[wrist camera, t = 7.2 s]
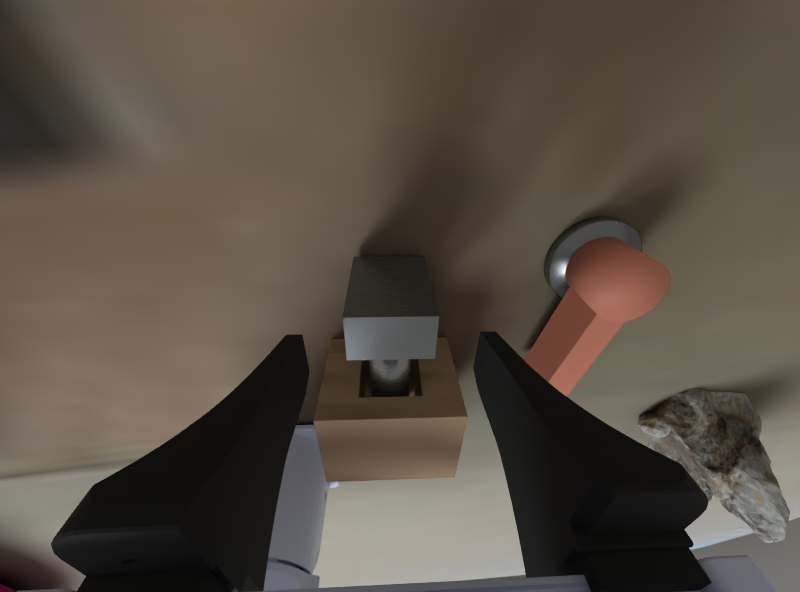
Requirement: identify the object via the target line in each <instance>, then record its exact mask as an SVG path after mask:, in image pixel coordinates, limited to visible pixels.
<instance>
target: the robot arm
mask: <svg viewBox="0 0 800 592" xmlns="http://www.w3.org/2000/svg"><path fill="white" fill-rule="evenodd" d="M473 368H474V373H475V378H476V383H477V387H478V391H479V394H480V397H481V400H482V403H483V406H484V408H485V411H486V414H487V417H488V420H489V422H490V425H491V428H492V431H493V434H494V436H495V439H496V442H497V445H498V448H499V452H500V455H501V459H502V463H503V467H504V471H505V475H506V480H507V484H508V488H509V493H510V497H511V501H512V506H513V511H514V515H515V520H516V525H517V530H518V534H519V540H520V545H521V550H522V556H523V561H524V566H525V572H526V578H509V579H490V580H470V581H450V582H430V583H411V584H391V585H371V586H352V587H332V588H318V587H319V579H320V577H319V576H316V575H312V574H313V570H314V568H315V566H316V563H317V560H318V556H319V551H320V544H321V537H322V530H323V523H324V515H325V508H326V501H327V494H328V487H337V486H338V485H339V482H326V478H325V473H324V469H323V464H322V459H321V455H320V450H319V445H318V441H317V436H316V431H315V427H314V425H296V424H297V421H298V418H299V414H300V411H301V408H302V404H303V401H304V398H305V394H306V389H307V383H308V377H309V366H308V361H307V356H306V351H305V346H304V341H303V336H302V335H286V336H285V337H284V338H283V339H282V340H281V341H280V342H279V344H278V345H277V346H276V347H275V348H274V349H273V350H272V351H271V352H270V354H269V355H268V356H267V357H266V358H265V359H264V360H263V361H262V362H261V363H260V364H259V365H258V366H257V368H256V369H255V370H254V371H253V372H252V373H251V374H250V375H249V376H248V377H247V378H246V379H245V380H244V381H243V382H242V383H241V384H239V385H238V386H237V387H236V388H235V389H234V390H233V391H232V392H231V393H230V394H229V395H228V396H227V397H225V398H224V399H223V400H222V401H221V402H220V403H219V404H217V405H216V406H215V407H214V408H212V409H211V410H210V411H209V412H207V413H206V414H205V415H204V416H202V417H201V418H200V419H198V420H197V421H195V422H194V423H193V424H191V425H190V426H189V427H187V428H186V429H185V430H183V431H182V432H180V433H179V434H178V435H176V436H175V437H173V438H172V439H170V440H169V441H167V442H166V443H164V444H163V445H161V446H160V447H158V448H156V449H155V450H153V451H152V452H150V453H148V454H147V455H145V456H144V457H142V458H140V459H139V460H137V461H135V462H134V463H132V464H130V465H128V466H127V467H125V468H123V469H121V470H120V471H118V472H116V473H114V474H113V475H111V476H109V477H107V478H106V479H104V480H102V481H100V482H98V483H96V484H95V485H93V487H92V488H91V489H90V490H89V492H88V493H87V494H86V496H85V497H84V498H83V500H82V501H81V502H80V504H79V505H78V506H77V508H76V509H75V510H74V512H73V513H72V514H71V516H70V517H69V518H68V520H67V521H66V522H65V524H64V525H63V526H62V528H61V529H60V530H59V532H58V533H57V534H56V536H55V537H54V539H53V541H52V543H51V545H52V549H53V552H54V554H56V555H57V556H58V557H59V558H60V559H61V560H63V561H64V562H66V563H67V564H69V565H70V566H72V567H73V568H75V569H76V570H78V571H79V572H81V573H82V574H84V575H85V576H86V578H85V579H84V581H83V582H82V584H81V586H80V587H79V589H78V590H77V591H74V590H69V589H45V590H25V591H17V592H778V591H777V590H776V588H775V587H774V586H773V585H772V583H771V582H770V581H769V580H768V579H767V577H766V576H765V574H764V573H763V572H762V571H761V569H760V568H759V567H758V566H757V564H756V563H755V562H754V561H753V559H752V558H751V557H749V556H747V555H737V556H717V557H707V558H703V559H700V560H698V561H697V559H696V558H695V557H694V555H693V553H692V552H691V551H690V549H689V547H692V546H693V542H692V540H691V539H690V537H689V536H688V534H687V533H686V531H685V530H684V529H685V528H686V527H687V526H689V525H690V524H691V523H692V522H693V521H694V520H696V519H697V518H698V517H699V516H700V515H701V514H702V513H703V512H704V511H705V510H706V508H707V505H708V501H709V500H708V498H707V495H706V494H705V493H704V492H703V490H702V489H701V488H700V487H699V485H698V484H697V483H696V482H695V480H694V479H693V478H692V477H691V476H690V474H689V473H688V472H687V471H686V469H685V468H684V467H683V466H682V465H681V464H680V463H678V462H676V461H674V460H672V459H670V458H668V457H666V456H664V455H662V454H660V453H658V452H656V451H654V450H652V449H650V448H648V447H646V446H644V445H642V444H641V443H639V442H637V441H635V440H633V439H632V438H630V437H628V436H626V435H624V434H623V433H621V432H619V431H617V430H616V429H614V428H612V427H611V426H609V425H607V424H606V423H604V422H603V421H601V420H600V419H598V418H597V417H595V416H593V415H592V414H590V413H589V412H587V411H586V410H584V409H583V408H581V407H580V406H579V405H577V404H576V403H574V402H573V401H572V400H570V399H569V398H568V397H566V396H565V395H564V394H562V393H561V392H560V391H558V390H557V389H556V388H555V387H553V386H552V385H551V384H550V383H549V382H548V381H546V380H545V379H544V378H543V377H542V376H541V375H539V374H538V373H537V372H536V371H535V370H534V369H533V368H532V367H531V366H530V365H528V364H527V363H526V362H525V361H524V360H523V359H522V358H521V357H520V356H519V355H518V354H517V353H516V352H515V351H514V350H513V349H512V348H511V347H510V346H509V345H508V344H507V343H506V342H505V341H504V340H503V339H502V338H501V337H500V336H499V335H498V334H497V333H496V332H480V337H479V342H478V347H477V352H476V357H475V362H474V367H473Z"/></svg>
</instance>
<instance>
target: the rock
mask: <svg viewBox="0 0 800 592" xmlns="http://www.w3.org/2000/svg"><path fill="white" fill-rule="evenodd" d="M638 426H639V427H640V428H641V430H642V431H643V432H645V433H647V434H650V435H651V436H650V441H649V443H648V448H650V449H652V450H654V451H656V452H658V453H660V454H662V455H664V456H666V457H668V458H670V459H672V460H674V461H676V462H678V463H680V464H681V465H682V466H683V467H684V468H685V469H686V471H687V472H688V473H689V474H690V476H691V477H692V478H693V479H694V480H695V482H696V483H697V484H698V485H699V487H700V488H701V489H702V490H703V492H704V493H705V494H706V495H707V498H708V500H709V501H711V499H712V495H713V494H714V496H715V497H716V499H717V500H718V501H719V502H720V503H721V504H722V505H723V506H724V507H725V508H726V509H727V510H728V512H730V513H732V514H734V515H735V516H736V517H737V518H739V519H741V520H743V521H744V522H746V523H747V524H748V525H749V526H750V528H751V529H752V530H753V531H754V532H755V533H757V534H758V536H759V537H760V539H762V540H763V541H765V542H766V543H772V542H773V541H775V542H777V541H781V540H784V538H785V534H786V526H787V523H788V520H789V514H790V511H789V509H788V507H787V504H786V501H785V500H784V498H783V496H782V494H781V491H780V487H779V484H778V481H777V479H776V477H775V476H774V475H773V473H772V470H771V467H770V463H771V461H770V459H769V457H768V455H767V453H766V451H765V449H764V447H763V445H762V444H761V442H760V440H759V435H760V433H761V427H762V423H761V419H760V417H759V415H758V413H757V411H756V410H755V408H754V407H753V405H752V404H751V402H750V401H749V399H748V397H747V395H746V394H745V393H731V392H716V393H715V392H713V391H711V392H708V391H704V390H701V389H696V388H693V389H689V390H686V391H683V392H680V393H678V394H677V395H675V396H673V397H671V398H669V399H668V400H666V401H665V402H664V403H662V404H661V405H659V406H658V407H657V408H655V409H654V410H653V411H651V412H650V413H648V414H644V415H641V417H640V418H639V420H638Z"/></svg>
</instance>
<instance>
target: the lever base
mask: <svg viewBox="0 0 800 592" xmlns="http://www.w3.org/2000/svg"><path fill="white" fill-rule="evenodd" d="M602 237H615V238H618V239H620V240H622V241H624V242H626V243H627V244H629V245H631V246H632V247H634V248H636V249H637V250H639V251H641V252H642V243H641V239H640V236H639V234H638V233H637V232H636V230H635V229H634V228H632V227H631V226H629V225H628V224H626V223H624V222H622V221H620V220H618V219H615V218H612V217H594V218H589V219H586V220H583V221H581V222H579V223H577V224H575V225H573V226H571V227H570V228H568V229H567V230H566V231H565V232H563V233H562V234H561V235H560V236H559V237H558V238H557V239H556V241H555V242H554V243H553V244H552V246H551V247H550V249H549V251H548V253H547V256H546V258H545V263H544V275H545V278H546V280H547V282H548V284H549V285H550V286H551V287H552V289H553V290H554V291H555V292H556V293H557V294H558V295H559V296H561V297H562V298H563V297H564V295H565V294H566V292H567V291H568V289H569V287H570V286H569V285H568V284H567V281H566V278H565V270H566V267H567V264H568V262H569V260H570V258H571V257H572V256H573V254H574V253H575V252H576V251H577V250H578V249H579V248H581V247H582V246H583V245H585V244H586V243H588V242H590V241H592V240H594V239H597V238H602Z"/></svg>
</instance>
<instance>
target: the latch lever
mask: <svg viewBox="0 0 800 592" xmlns="http://www.w3.org/2000/svg"><path fill="white" fill-rule="evenodd" d="M565 278H566V281H567V284H568V285H569V286H570V287H569V289H568V291H567V292H566V294H565V295H564V297H563V299H562V300H561V302H560V303H559V305H558V307H557V308H556V310H555V311H554V313H553V315H552V316H551V318H550V320H549V321H548V323H547V324H546V326H545V328H544V329H543V331H542V332H541V334H540V336H539V337H538V339H537V340H536V342H535V344H534V345H533V347H532V348H531V350H530V352H529V353H528V355H527V356H526V358H525V360H524V361H525V362H526V363H527V364H528V365H530V366H531V367H532V368H533V369H534V370H535V371H536V372H537V373H538V374H539V375H541V376H542V377H543V378H544V379H545V380H546V381H548V382H549V383H550V384H551V385H552V386H553V387H555V388H556V389H557V390H558V391H560V392H561V393H562V394H564V395H565V396H567V395H568V394H569V392H570V391H571V390H572V389H573V387H574V386H575V385H576V383H577V382H578V381H579V380H580V378H581V377H582V376H583V375H584V373H585V372H586V371H587V369H588V368H589V367H590V366H591V364H592V363H593V362H594V361H595V359H596V358H597V357H598V355H599V354H600V353H601V352H602V350H603V349H604V348H605V347H606V345H607V344H608V343H609V341H610V340H611V339H612V338H613V336H614V335H615V334H616V333H617V331H618V330H619V329H620V327H621V326H622V325H623V324H624V322H626V321H630V320H633V319H636V318H638V317H641V316H643V315H644V314H646V313H648V312H649V311H651V310H652V309H653V308H654V307H655V306H657V305H658V304H659V302H660V301H661V300H662V299H663V298H664V296H665V295H666V293H667V291H668V289H669V286H670V273H669V271H668V270H667V268H666V267H665V266H664V265H662V264H660V263H659V262H657V261H655V260H654V259H652V258H650V257H649V256H647V255H645V254H644V253H642V252H641V251H639V250H637V249H636V248H634V247H632V246H631V245H629V244H627V243H626V242H624V241H622V240H620V239H618V238H615V237H602V238H597V239H594V240H592V241H590V242H588V243H586V244H585V245H583V246H582V247H581V248H579V249H578V250H577V251H576V252H575V253H574V254H573V256H572V257H571V258H570V260H569V262H568V264H567V267H566V270H565Z"/></svg>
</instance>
